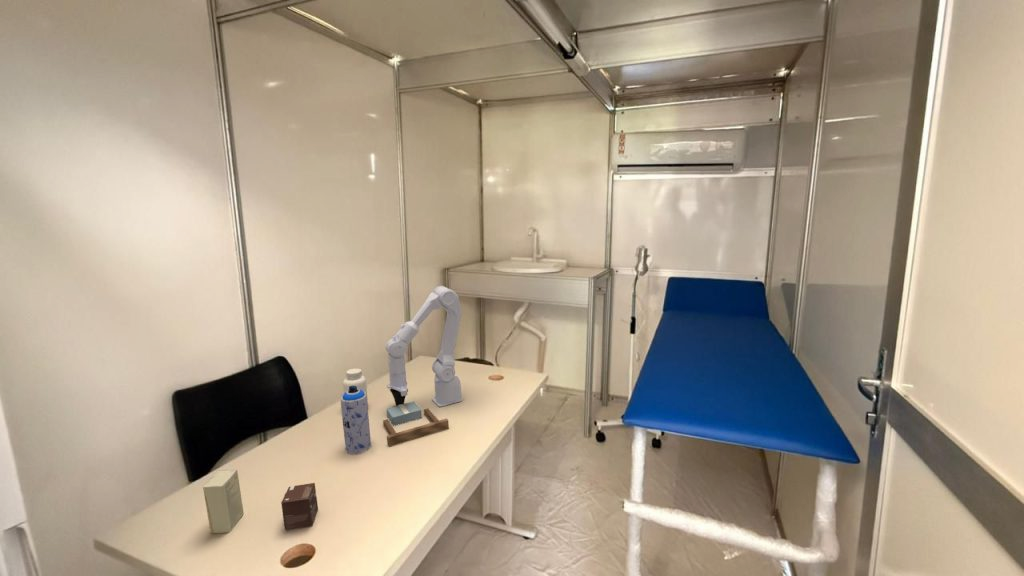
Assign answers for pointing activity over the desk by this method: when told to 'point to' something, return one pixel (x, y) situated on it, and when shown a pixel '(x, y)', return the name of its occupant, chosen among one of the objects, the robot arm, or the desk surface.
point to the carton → (404, 413)
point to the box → (299, 506)
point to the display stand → (415, 429)
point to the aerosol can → (355, 421)
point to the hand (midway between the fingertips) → (400, 407)
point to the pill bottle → (355, 380)
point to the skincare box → (223, 501)
